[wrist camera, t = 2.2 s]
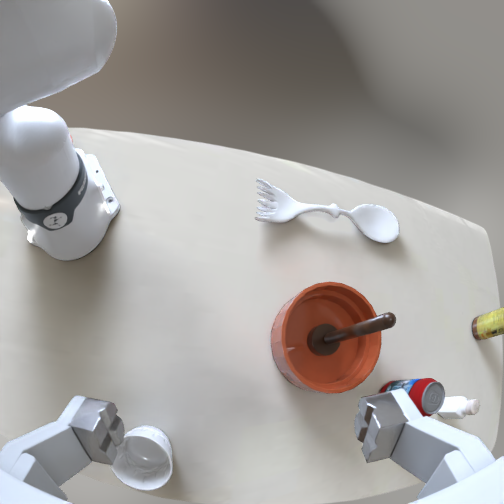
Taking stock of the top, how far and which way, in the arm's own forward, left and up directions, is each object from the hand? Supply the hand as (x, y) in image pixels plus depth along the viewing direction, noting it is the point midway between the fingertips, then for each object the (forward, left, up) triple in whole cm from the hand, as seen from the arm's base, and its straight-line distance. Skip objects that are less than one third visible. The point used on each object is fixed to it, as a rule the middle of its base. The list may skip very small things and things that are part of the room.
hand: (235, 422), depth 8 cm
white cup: (+7, -11, -36) cm, 38 cm away
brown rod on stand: (+3, +21, -35) cm, 41 cm away
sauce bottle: (+24, +63, -36) cm, 76 cm away
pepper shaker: (+32, +41, -36) cm, 63 cm away
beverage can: (+20, +29, -36) cm, 50 cm away
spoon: (-17, +35, -36) cm, 53 cm away
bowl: (+3, +21, -36) cm, 41 cm away
